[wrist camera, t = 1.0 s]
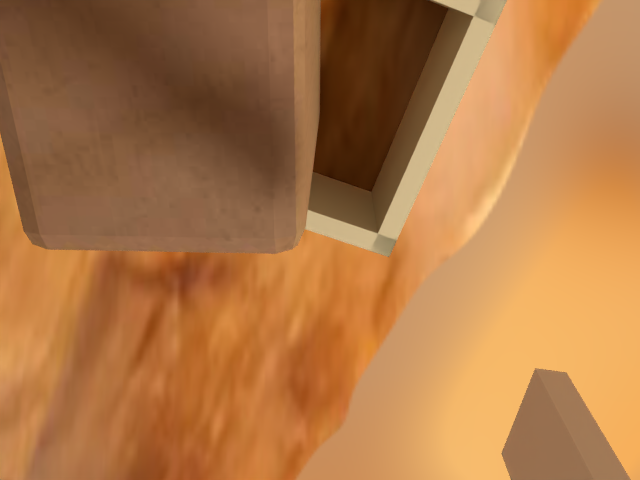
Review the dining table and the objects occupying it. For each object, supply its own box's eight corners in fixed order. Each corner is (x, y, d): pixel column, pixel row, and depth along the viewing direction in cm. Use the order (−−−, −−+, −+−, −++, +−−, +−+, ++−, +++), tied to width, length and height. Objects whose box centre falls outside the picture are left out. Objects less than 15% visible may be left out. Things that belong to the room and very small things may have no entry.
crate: (131, 126, 38) (90, 157, 32) (184, -122, 32) (146, -146, 25) (380, 212, 40) (389, 257, 34) (475, -5, 34) (506, 0, 27)
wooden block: (152, -45, 33) (-65, -67, 15) (321, -44, 33) (302, -64, 15) (170, 123, 38) (17, 260, 20) (320, 125, 37) (304, 265, 19)
